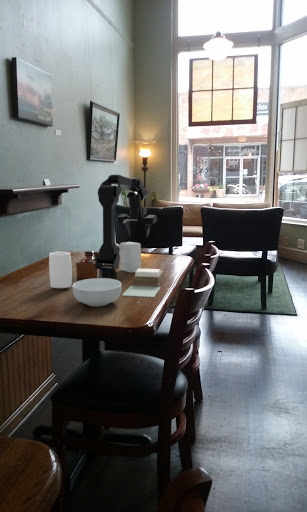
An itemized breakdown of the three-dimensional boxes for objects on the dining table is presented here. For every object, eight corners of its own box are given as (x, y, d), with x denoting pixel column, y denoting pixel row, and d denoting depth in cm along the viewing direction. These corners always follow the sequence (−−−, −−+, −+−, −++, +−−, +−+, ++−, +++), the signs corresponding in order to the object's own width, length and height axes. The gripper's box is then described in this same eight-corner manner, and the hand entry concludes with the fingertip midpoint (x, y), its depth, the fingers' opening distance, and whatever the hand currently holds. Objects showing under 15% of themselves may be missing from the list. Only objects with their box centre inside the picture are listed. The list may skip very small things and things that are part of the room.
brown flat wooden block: (158, 287, 168) (158, 277, 167) (133, 286, 170) (133, 276, 169) (164, 279, 181) (164, 270, 181) (141, 278, 183) (141, 269, 182)
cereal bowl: (63, 303, 147) (62, 283, 146) (101, 294, 159) (101, 275, 158) (92, 314, 135) (92, 292, 134) (131, 303, 147) (131, 283, 146)
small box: (141, 271, 198) (141, 243, 196) (130, 272, 194) (130, 244, 192) (131, 268, 205) (130, 241, 202) (120, 270, 201) (119, 242, 198)
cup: (50, 292, 162) (48, 255, 159) (49, 286, 170) (48, 251, 167) (73, 290, 164) (71, 254, 162) (71, 285, 172) (70, 250, 170)
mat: (153, 297, 154) (153, 296, 154) (121, 295, 156) (121, 295, 156) (160, 287, 168) (160, 287, 168) (131, 286, 170) (131, 285, 170)
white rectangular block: (157, 277, 168) (157, 272, 168) (135, 276, 170) (135, 271, 169) (160, 273, 174) (160, 269, 173) (138, 273, 176) (138, 268, 175)
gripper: (159, 200, 201) (162, 231, 207) (123, 199, 208) (127, 229, 214) (151, 207, 192) (154, 239, 198) (114, 206, 198) (118, 237, 204)
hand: (138, 236), depth 204 cm, fingers open, 9 cm apart
